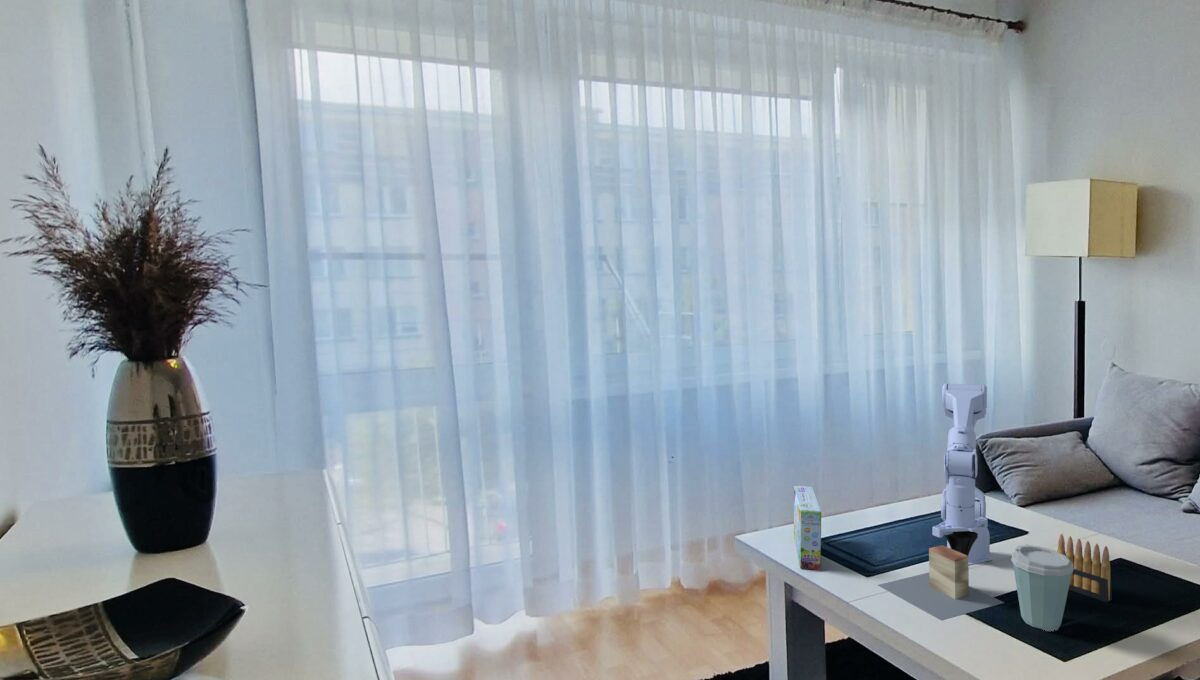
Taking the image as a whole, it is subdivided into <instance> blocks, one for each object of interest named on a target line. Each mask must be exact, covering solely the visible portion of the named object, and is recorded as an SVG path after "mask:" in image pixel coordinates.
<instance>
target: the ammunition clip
mask: <svg viewBox="0 0 1200 680" xmlns="http://www.w3.org/2000/svg"><path fill="white" fill-rule="evenodd" d="M1073 541H1074V540H1073V538H1072V536H1071V535H1070V536H1069V537H1068V538H1067V543H1065V538H1064V535H1063V533H1061V534H1060V535H1059V537H1058V544H1057V550H1056V552H1058V553H1061V554H1063V555H1065V556H1066V557H1067V558H1068V559H1069V560H1070V561H1071V562H1072V563H1073V567H1074V570H1073V572H1072V575H1071V580H1070V584H1069V589H1068V591H1073V592H1075V593H1079V594H1081V595H1084V596H1087V597H1090V598H1092V599H1096V600H1098V601H1100V602H1101V601H1102V602H1104V603H1109V602H1111V601H1112V600H1113V599H1112V597H1113V596H1112V595H1113V594H1112V592H1113V591H1112V589H1113V588H1112V577H1111V564H1110V562H1111V561H1110V552H1109V548H1108V546H1104V548H1103V551H1102V558H1101V550H1100V546H1099V544H1098V543H1096V544H1095V545H1094V547H1093V552H1092V547H1091V544H1090V541H1089V540H1088V541H1086V542H1085V546H1084V552H1083V543H1082V541H1081V538H1078V539H1077V541H1076V545H1075V552H1074V542H1073ZM1065 545H1066V547H1065ZM1092 554H1093V555H1092Z"/></svg>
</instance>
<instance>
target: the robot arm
mask: <svg viewBox="0 0 1200 680" xmlns="http://www.w3.org/2000/svg"><path fill="white" fill-rule="evenodd" d="M941 390H942V391H941V404H942V407H943V413H944V415H945V416H946V417H948V418H950V419H952V421H953V427H951V428H950V429H949V431H948V434H947V447H946V449H947V450H946V452H944V454H943V455H944V456H943V471H944V477H945V478H944V479H945V481H944V482H945V485H946V486H945V487H946V488H944V489H943V490H942V493H941V499H940V500H941V501H940V503H941V504H940V517H941V519H942V522H940V523H939V524H937V525H933V526H932V531H931V532H932V536H933V537H934V536H935V537H936V538H939V539H940V538H944V537H945V539H946V547H948V548H950V549H953V550H955V551H957V552H960V553H962V554H965V555H967V556H968V566H972V565H977V564H980V563H986V562H989V561H993V559H994V558H993V557H991V555H990V545H991V543H990V542H991V541H990V540H991V539H990V538H991V536H990V531H989V528H988V527H989V526H988V525H989V523H988V522H989V521H988V520H989V519H988V518H987V517H986V516H987V502H986V495H985V493H984V492H983V491H982V490H981V489H979V488H978V487H976V478H977V476H978V453H977V449H976V448H977V434H976V432H975V427H976V423H977V421H978V420H981V419H985V417H986V416H985V415H986V414H987V407H988V402H987V401H988V400H987V399H988V387H987V386H986V385H985V384H984V383H982V384H970V383H969V384H968V383H967V384H964V383H948V382H944V384H943V385H942V389H941ZM974 474H975V475H974Z"/></svg>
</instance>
